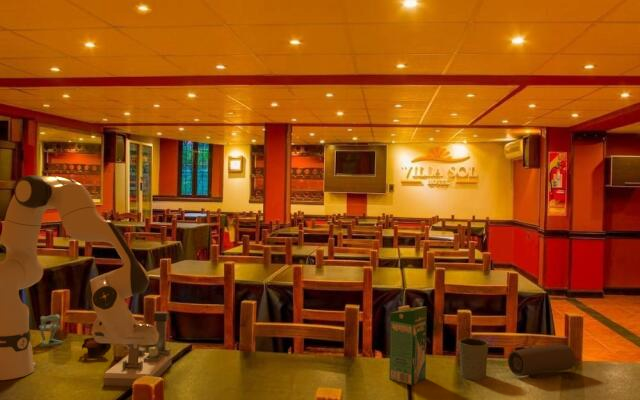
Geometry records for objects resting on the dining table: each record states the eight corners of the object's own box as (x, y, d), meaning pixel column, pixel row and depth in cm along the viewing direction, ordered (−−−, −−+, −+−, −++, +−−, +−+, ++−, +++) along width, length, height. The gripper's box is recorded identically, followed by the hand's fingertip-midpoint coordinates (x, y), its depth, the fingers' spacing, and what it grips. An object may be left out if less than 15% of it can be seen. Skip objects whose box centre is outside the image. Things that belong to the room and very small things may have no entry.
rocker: (130, 352, 192) (130, 348, 192) (133, 350, 195) (134, 345, 195) (141, 355, 192) (142, 350, 192) (145, 352, 195) (145, 348, 195)
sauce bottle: (127, 362, 198) (127, 308, 197) (110, 361, 198) (110, 307, 197) (133, 356, 204) (134, 304, 204) (117, 356, 204) (117, 304, 204)
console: (103, 385, 175) (103, 365, 174) (131, 363, 197) (131, 345, 196) (149, 386, 174) (149, 367, 174) (171, 364, 196) (171, 346, 196)
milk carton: (402, 372, 191) (404, 302, 190) (425, 378, 185) (427, 305, 184) (389, 379, 184) (390, 306, 183) (412, 385, 178) (413, 310, 177)
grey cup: (467, 381, 182) (468, 346, 182) (452, 371, 192) (453, 338, 192) (493, 379, 185) (494, 344, 184) (477, 369, 195) (478, 336, 194)
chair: (57, 339, 226) (57, 310, 225) (62, 343, 219) (62, 314, 219) (36, 342, 221) (36, 313, 220) (41, 347, 214) (41, 317, 214)
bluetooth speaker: (556, 367, 198) (556, 340, 198) (576, 375, 190) (577, 347, 189) (506, 374, 190) (506, 346, 190) (525, 383, 181) (525, 354, 181)
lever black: (153, 355, 192) (154, 313, 192) (156, 353, 195) (156, 311, 194) (166, 356, 192) (166, 313, 192) (168, 354, 194) (168, 311, 194)
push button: (147, 358, 187) (147, 349, 187) (150, 355, 190) (150, 346, 190) (156, 358, 187) (156, 349, 187) (159, 355, 190) (159, 346, 190)
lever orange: (124, 368, 178) (128, 320, 181) (127, 367, 180) (131, 320, 183) (137, 369, 178) (141, 321, 181) (140, 368, 180) (144, 320, 183)
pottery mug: (75, 361, 199) (76, 339, 203) (90, 365, 208) (91, 344, 211) (104, 354, 198) (105, 332, 202) (118, 359, 206) (119, 337, 210)
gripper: (155, 316, 171) (165, 339, 181) (92, 315, 172) (106, 337, 182) (150, 334, 166) (161, 356, 176) (85, 332, 168) (100, 354, 178)
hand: (132, 346), depth 179 cm, fingers closed, pressing on lever orange
